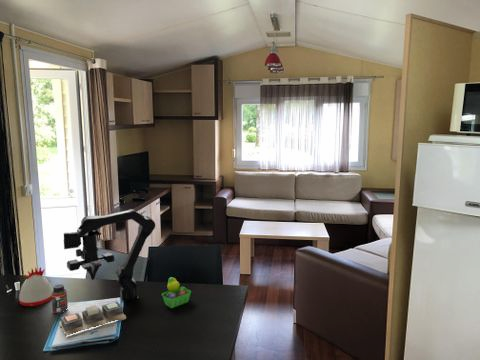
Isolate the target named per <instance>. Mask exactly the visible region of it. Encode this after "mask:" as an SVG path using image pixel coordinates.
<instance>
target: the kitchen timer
mask: <svg viewBox="0 0 480 360" xmlns="http://www.w3.org/2000/svg"><path fill="white" fill-rule="evenodd" d="M27 273H28V275H26V274H24V277H25V278H26V279H25V281H24V282H23V283H22V285H21V287H20V291H19V295H18V300H19V304H20V305H21V306H25V307H34V306H38V305H39V306H40V305H43V304H45V303H47V302H49V301H52V296H51V293H52V291H54V290H53V289H54V288H53V287H52V285H51V283H50V282H51V280H49V279H47V278H46V277H45V276H43V275H44V273H45V268H43V270H42V267H41V266H39V268H38V269H37V267H35V269H33V268H31V272H30V271H29V270H28V271H27Z"/></svg>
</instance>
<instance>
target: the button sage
mask: <svg viewBox="0 0 480 360" xmlns="http://www.w3.org/2000/svg"><path fill="white" fill-rule="evenodd" d="M111 303H112V304H109V303H107V304H108V305H106V304H105V305H106V308H107V309H108V310H111V309H114V308H117V307H119V306H118V305H117V304H116V303H113V302H111Z"/></svg>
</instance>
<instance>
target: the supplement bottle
mask: <svg viewBox="0 0 480 360" xmlns="http://www.w3.org/2000/svg"><path fill="white" fill-rule="evenodd" d="M52 289H53V291H52V293H51V296H52V299H51V307H52V313H54V314H56V315H59V314H63V313H64V312H63V311H65V310H66V309H67V308H69V307H68V306H69V305H68V294H67V290H66V289H65V286H64V284H62V283H61V284H59V283H58V284H55V285H53V287H52ZM67 310H68V309H67ZM62 312H63V313H62ZM65 312H66V311H65Z"/></svg>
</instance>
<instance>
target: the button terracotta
mask: <svg viewBox="0 0 480 360" xmlns="http://www.w3.org/2000/svg"><path fill="white" fill-rule="evenodd" d="M73 314H74V315H71V314H69V315H70V316H68V315H66V316H67V317H65V321H66V323H67V322H71V321H74V320H77V319H78V317H77V315H76V314H75V313H73Z"/></svg>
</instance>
